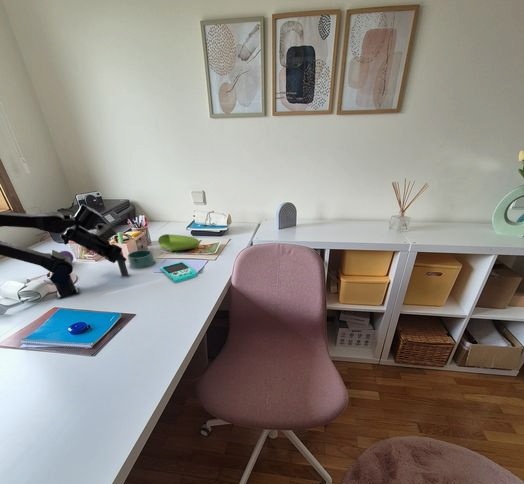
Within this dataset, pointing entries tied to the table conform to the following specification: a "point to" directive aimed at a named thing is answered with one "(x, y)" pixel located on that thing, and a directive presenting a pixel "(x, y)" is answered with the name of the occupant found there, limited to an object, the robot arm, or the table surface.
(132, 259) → the pen pot
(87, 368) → the table surface
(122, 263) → the marker
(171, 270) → the handheld game console
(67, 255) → the kendama
